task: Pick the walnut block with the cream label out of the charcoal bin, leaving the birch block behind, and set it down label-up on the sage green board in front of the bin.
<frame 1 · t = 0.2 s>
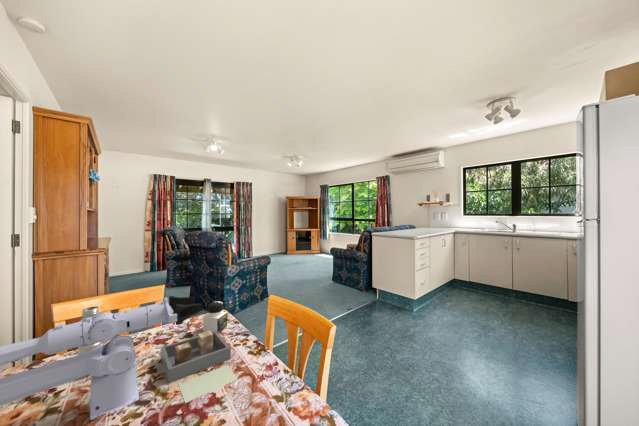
hand: (198, 303, 77), 21 cm above the table, tool horizontal, fingers open, 7 cm apart
board: (208, 383, 70), on the table
plastic bottle: (89, 372, 75), on the table
medicine bottle: (215, 331, 103), on the table
bin: (195, 360, 81), on the table
walnut block: (183, 365, 78), point 1 cm above the table, touching bin
birch block: (205, 350, 86), point 1 cm above the table, touching bin
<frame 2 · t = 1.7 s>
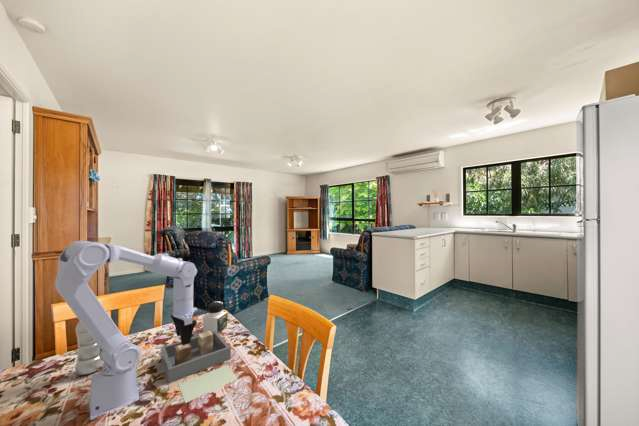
hand: (183, 339, 78), 9 cm above the table, tool pointing down, fingers open, 7 cm apart
nothing on the table moved.
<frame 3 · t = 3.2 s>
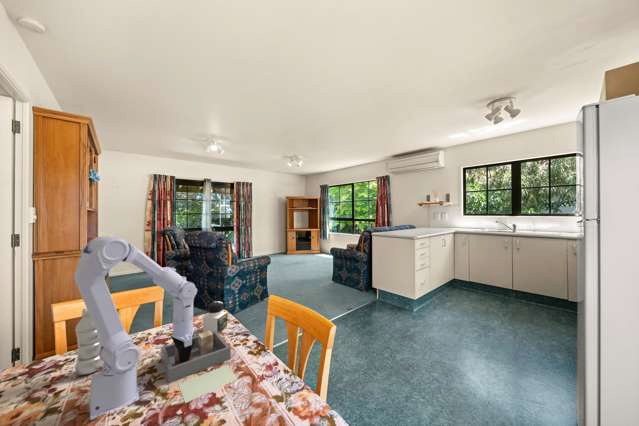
hand: (183, 359, 78), 2 cm above the table, tool pointing down, fingers closed on walnut block, 4 cm apart
walnut block: (183, 365, 78), point 1 cm above the table, touching bin, gripper
everything else where it was.
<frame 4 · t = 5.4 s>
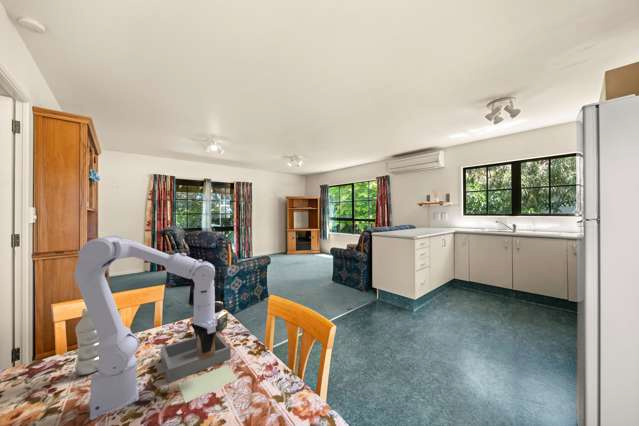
hand: (204, 348, 71), 9 cm above the table, tool pointing down, fingers closed on walnut block, 4 cm apart
walnut block: (205, 355, 72), point 7 cm above the table, touching gripper
everything else where it was.
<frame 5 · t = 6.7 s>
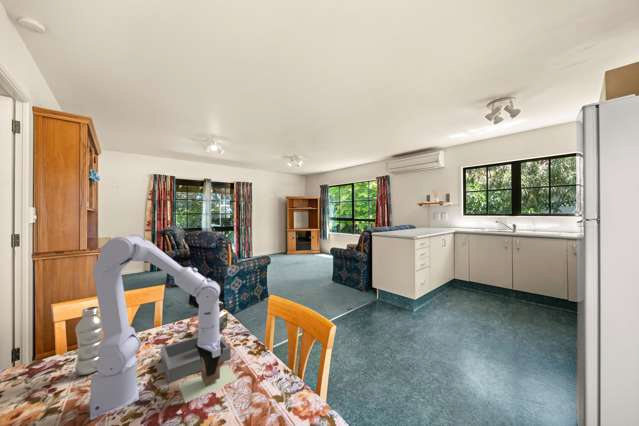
hand: (208, 370, 70), 4 cm above the table, tool pointing down, fingers closed on walnut block, 4 cm apart
walnut block: (210, 377, 70), point 1 cm above the table, touching gripper
everything else where it was.
when the fingers open (4 cm above the table, at t = 7.5 s): walnut block stays where it is, resting on board.
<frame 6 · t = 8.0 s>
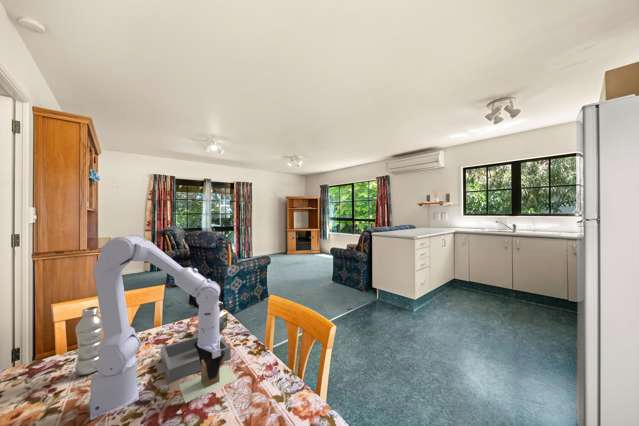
hand: (208, 371, 70), 4 cm above the table, tool pointing down, fingers open, 7 cm apart
walnut block: (210, 381, 70), point 1 cm above the table, touching board
everything else where it was.
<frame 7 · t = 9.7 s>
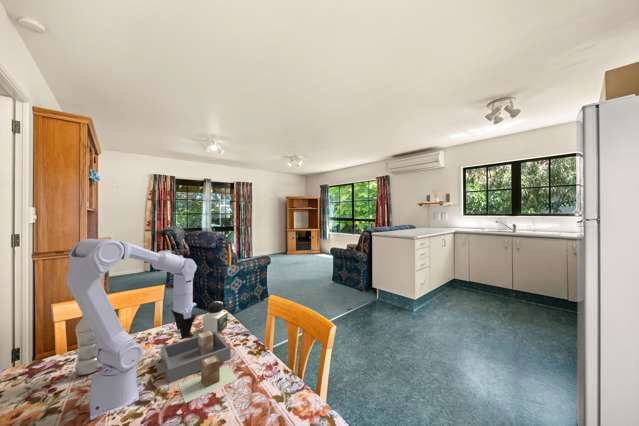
hand: (183, 332, 81), 9 cm above the table, tool pointing down, fingers open, 7 cm apart
nothing on the table moved.
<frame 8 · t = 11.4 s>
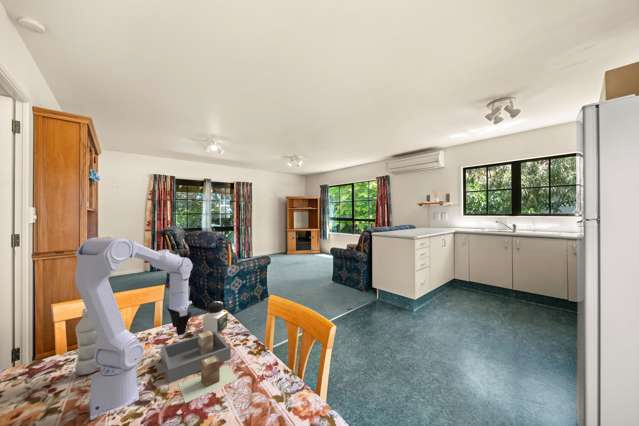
hand: (178, 330, 83), 9 cm above the table, tool pointing down, fingers open, 7 cm apart
nothing on the table moved.
at the end: walnut block inside the target area on the board (0.4 cm from its centre), point 0.6 cm above the board's base; walnut block tilted 0°; birch block moved 0.0 cm from its start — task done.
